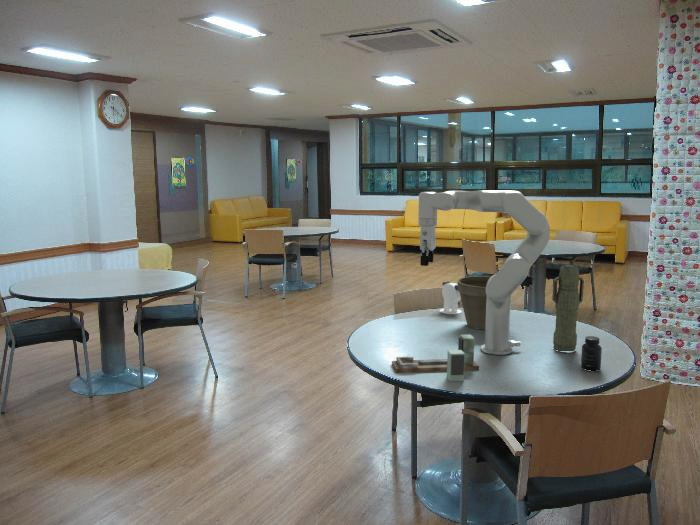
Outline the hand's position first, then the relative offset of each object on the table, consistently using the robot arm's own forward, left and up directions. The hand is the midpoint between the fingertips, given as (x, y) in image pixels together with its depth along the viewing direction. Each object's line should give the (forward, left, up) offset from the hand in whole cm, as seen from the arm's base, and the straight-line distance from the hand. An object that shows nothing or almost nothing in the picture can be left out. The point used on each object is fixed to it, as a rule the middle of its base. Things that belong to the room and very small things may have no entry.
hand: (426, 263), depth 244 cm
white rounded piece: (-27, -55, -35) cm, 70 cm away
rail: (+3, +28, -35) cm, 45 cm away
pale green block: (-1, +41, -35) cm, 54 cm away
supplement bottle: (-54, +36, -35) cm, 74 cm away
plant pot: (-34, -26, -35) cm, 55 cm away
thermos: (-55, +13, -35) cm, 66 cm away
